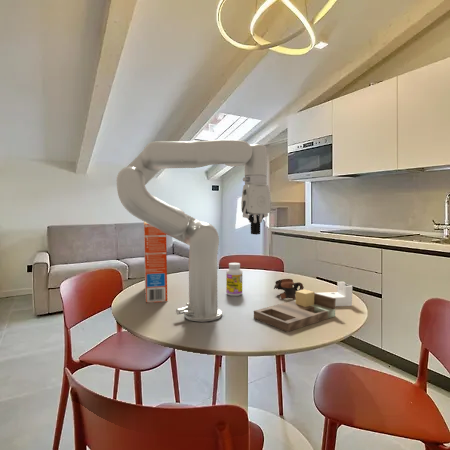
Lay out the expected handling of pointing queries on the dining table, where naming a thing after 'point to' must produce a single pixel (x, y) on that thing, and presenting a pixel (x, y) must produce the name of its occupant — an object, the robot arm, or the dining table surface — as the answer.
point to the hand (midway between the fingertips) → (255, 234)
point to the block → (305, 298)
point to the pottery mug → (288, 288)
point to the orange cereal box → (155, 264)
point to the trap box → (297, 313)
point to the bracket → (341, 295)
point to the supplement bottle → (234, 280)
